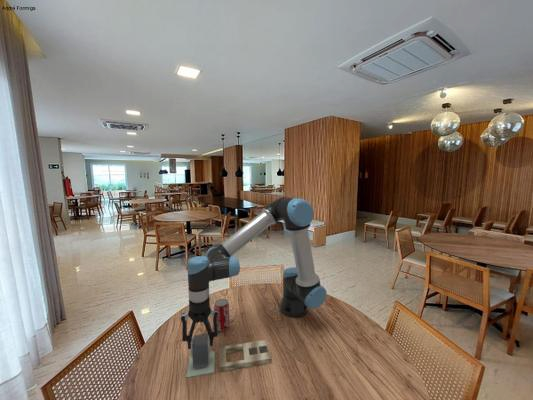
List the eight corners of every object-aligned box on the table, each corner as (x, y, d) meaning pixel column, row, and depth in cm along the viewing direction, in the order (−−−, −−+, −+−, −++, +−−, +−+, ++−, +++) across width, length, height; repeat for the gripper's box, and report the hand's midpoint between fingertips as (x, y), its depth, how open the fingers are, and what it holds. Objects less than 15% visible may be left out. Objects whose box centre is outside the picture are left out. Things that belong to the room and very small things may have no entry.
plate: (266, 344, 95) (266, 339, 95) (271, 362, 86) (271, 358, 85) (219, 351, 91) (219, 346, 91) (219, 372, 82) (219, 367, 81)
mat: (215, 352, 91) (214, 351, 91) (214, 373, 81) (214, 372, 81) (190, 356, 89) (190, 355, 89) (186, 378, 79) (186, 377, 79)
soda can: (226, 333, 102) (225, 307, 101) (212, 331, 104) (211, 305, 102) (231, 323, 109) (231, 299, 108) (218, 321, 110) (217, 297, 109)
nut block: (208, 354, 88) (208, 333, 87) (208, 365, 83) (207, 343, 82) (194, 356, 87) (194, 335, 86) (193, 368, 82) (192, 345, 81)
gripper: (223, 290, 88) (225, 343, 90) (175, 295, 84) (177, 350, 87) (224, 300, 81) (225, 358, 83) (171, 306, 77) (173, 366, 79)
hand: (201, 354), depth 85 cm, fingers closed on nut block, 5 cm apart
